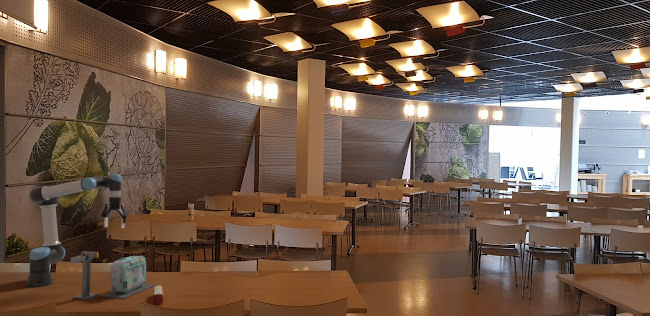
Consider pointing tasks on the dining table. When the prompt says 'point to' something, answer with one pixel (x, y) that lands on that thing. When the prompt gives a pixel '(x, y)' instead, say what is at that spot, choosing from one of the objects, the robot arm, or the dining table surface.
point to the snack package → (157, 295)
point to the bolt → (84, 257)
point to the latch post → (86, 279)
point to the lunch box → (128, 274)
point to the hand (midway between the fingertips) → (114, 227)
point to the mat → (126, 295)
